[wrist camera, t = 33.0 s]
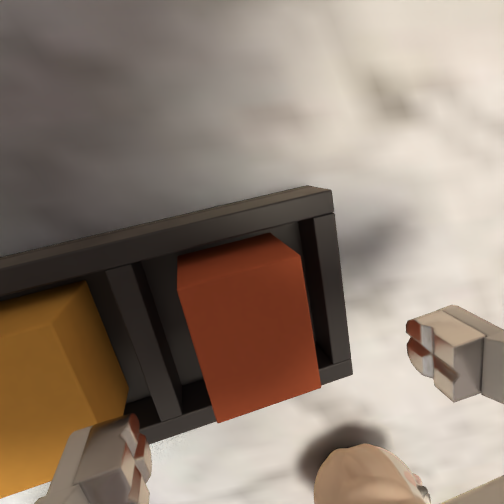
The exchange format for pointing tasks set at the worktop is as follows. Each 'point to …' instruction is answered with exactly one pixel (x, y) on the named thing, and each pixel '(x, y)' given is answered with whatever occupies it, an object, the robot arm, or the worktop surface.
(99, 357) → the yellow-orange rectangular block
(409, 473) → the garlic bulb
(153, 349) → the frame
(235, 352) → the orange-red rectangular block
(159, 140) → the worktop surface
